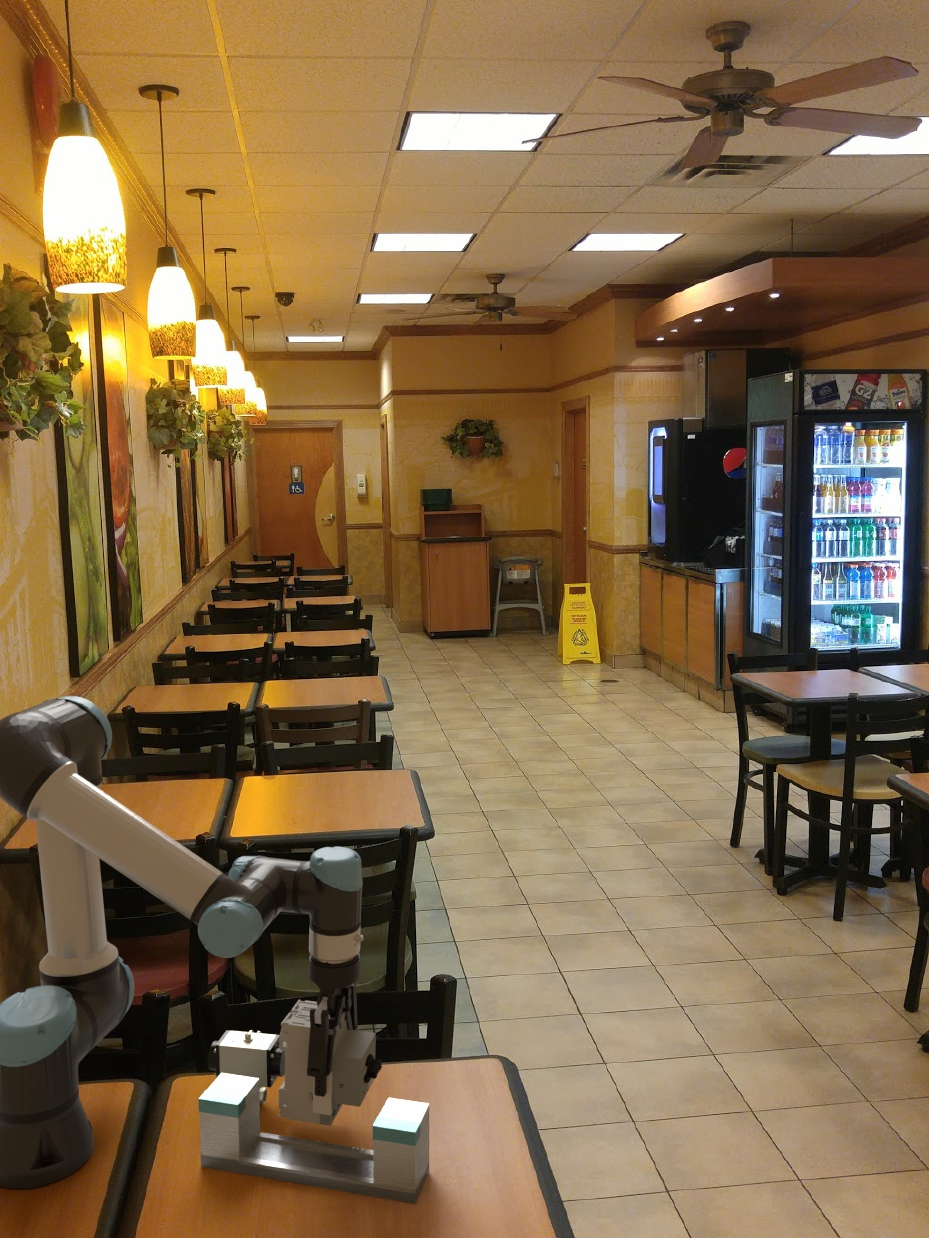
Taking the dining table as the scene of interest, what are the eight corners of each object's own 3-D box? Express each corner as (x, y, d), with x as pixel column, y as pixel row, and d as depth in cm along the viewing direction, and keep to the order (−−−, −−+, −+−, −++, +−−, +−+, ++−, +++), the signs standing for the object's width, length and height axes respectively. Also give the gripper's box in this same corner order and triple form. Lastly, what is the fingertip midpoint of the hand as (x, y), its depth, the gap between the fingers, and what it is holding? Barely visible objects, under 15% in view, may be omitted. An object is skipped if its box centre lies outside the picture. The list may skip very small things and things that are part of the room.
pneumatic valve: (280, 1116, 168) (279, 1044, 166) (208, 1109, 170) (206, 1037, 168) (291, 1096, 173) (290, 1026, 172) (221, 1089, 175) (219, 1019, 173)
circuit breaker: (370, 1132, 158) (373, 1036, 156) (278, 1117, 161) (279, 1023, 159) (384, 1103, 166) (387, 1011, 164) (296, 1089, 168) (297, 999, 166)
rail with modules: (200, 1167, 155) (198, 1098, 154) (222, 1138, 162) (221, 1072, 161) (415, 1204, 148) (415, 1132, 146) (429, 1172, 155) (429, 1102, 153)
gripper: (334, 988, 149) (331, 1141, 152) (380, 928, 169) (377, 1065, 172) (283, 980, 151) (282, 1132, 154) (335, 922, 171) (333, 1057, 174)
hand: (332, 1096), depth 163 cm, fingers closed on circuit breaker, 8 cm apart
